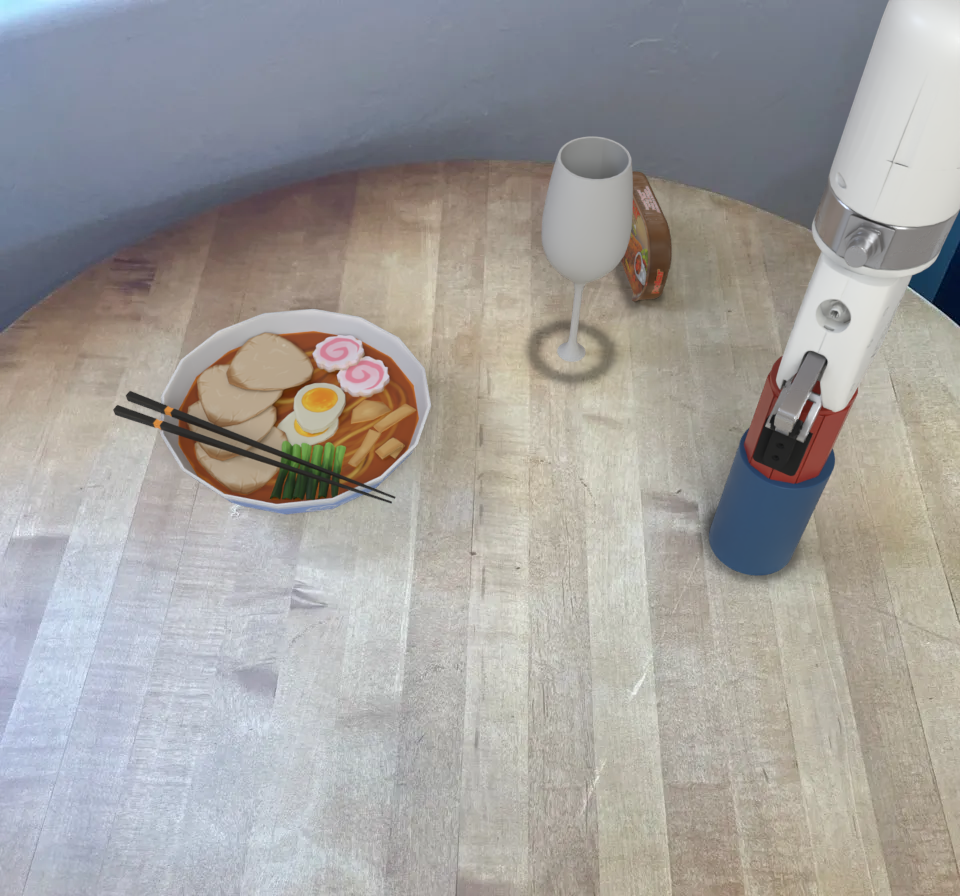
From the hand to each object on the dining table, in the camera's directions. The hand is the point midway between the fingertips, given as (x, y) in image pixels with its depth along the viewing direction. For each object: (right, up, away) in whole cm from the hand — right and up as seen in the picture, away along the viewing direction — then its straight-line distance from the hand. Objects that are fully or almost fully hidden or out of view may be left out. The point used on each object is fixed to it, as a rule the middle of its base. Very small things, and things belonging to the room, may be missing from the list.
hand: (799, 422), depth 73 cm
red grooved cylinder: (0, -2, +3) cm, 3 cm away
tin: (-8, +23, +32) cm, 40 cm away
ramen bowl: (-39, 0, +18) cm, 43 cm away
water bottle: (0, -8, +13) cm, 15 cm away
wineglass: (-14, +11, +25) cm, 31 cm away
